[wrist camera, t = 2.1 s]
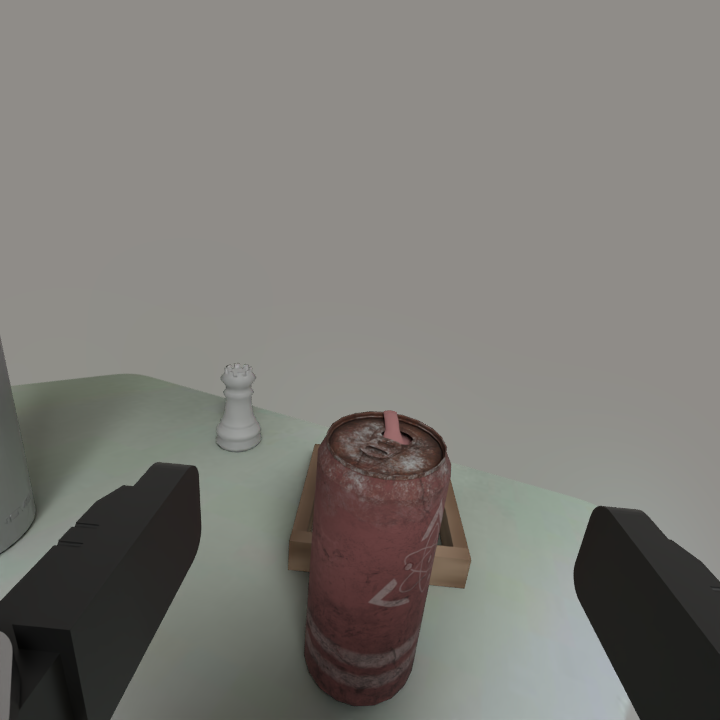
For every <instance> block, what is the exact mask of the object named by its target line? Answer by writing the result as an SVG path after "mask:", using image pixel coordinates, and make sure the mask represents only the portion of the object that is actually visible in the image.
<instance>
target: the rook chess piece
mask: <svg viewBox="0 0 720 720" xmlns="http://www.w3.org/2000/svg"><path fill="white" fill-rule="evenodd" d="M243 366H244V367H243V368H240V364H239V363H237V364H236V363H235V364H234V368H232V365H227V366H226V368H225V373H224V374H223V375H222V376H221V380H222V381H223V383H224V384H225V385H226V389H225V390H224V392H223V393H224V395H225V396H226V403H225V410H224V415H223V417H222V418H221V422H220V423H219V424H218V426H217V429H216V433H217V436H216V442H217V443H218V444H219V445H220V446H221V447H222V448H223V449H224V450H227V451H230V452H243V451H247V450H250V449H252V448H254V447H255V446H256V445H257V444H258V443H259V442H260V440H261V438H262V437H261V433H260V431H261V428H260V425H259V422H258V421H257V419H256V417H255V416H254V414H253V408H252V401H251V400H252V399H251V398H252V397H251V396H252V394H253V392H254V391H253V390H252V388H251V384H252V383H253V382H254V381H255V379H256V376H255V374H254V373H253V372H252V367H249V365H247V364H244V365H243Z"/></svg>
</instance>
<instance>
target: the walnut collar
mask: <svg viewBox="0 0 720 720" xmlns="http://www.w3.org/2000/svg"><path fill="white" fill-rule="evenodd" d="M319 446H320V444H315V446H314V450H313V453H312V457H311V461H310V465H309V469H308V472H307V476H306V480H305V484H304V487H303V491H302V495H301V499H300V503H299V506H298V510H297V514H296V518H295V521H294V525H293V529H292V533H291V537H290V540H289V560H288V570H295V571H304V572H310V558H311V544H312V532H311V529H312V524H313V515H314V500H315V486H316V471H317V457H318V448H319ZM440 537H441V542H442V546H440V545H437V547H436V552H435V557H434V562H433V567H432V572H431V577H430V582H429V585H436V586H445V587H455V588H465V584H466V580H467V576H468V571H469V567H470V563H471V557H470V553H469V549H468V546H467V542H466V538H465V534H464V530H463V526H462V522H461V518H460V515H459V511H458V507H457V503H456V499H455V495H454V491H453V487H452V483H451V480H450V482H449V487H448V492H447V497H446V502H445V507H444V512H443V517H442V522H441V527H440Z"/></svg>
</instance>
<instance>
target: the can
mask: <svg viewBox="0 0 720 720" xmlns="http://www.w3.org/2000/svg"><path fill="white" fill-rule="evenodd" d="M446 450H447V447H446V445H445V443H444V441H443V439H442V437H441V436H440V435H439V434H438V433H437V432H436V431H435V430H434V429H433V428H431V427H429V426H427V425H426V424H424V423H422V422H420V421H418V420H415V419H413V418H410V417H407V416H404V415H399V414H397V412H395V411H384V412H363V413H355V414H351V415H348V416H345V417H342V418H341V419H339V420H338V421H336V422H335V423H333V424H332V425H331V427H330V428H329V430H328V432H327V435H326V437H325V438H324V440H323V441H322V443H321V445H320V446H319V448H318V457H317V471H316V486H315V500H314V515H313V529H312V544H311V558H310V573H309V587H308V602H307V616H306V631H305V650H304V656H305V659H306V663H307V666H308V670H309V673H310V674H311V676H312V677H313V679H314V680H315V682H316V683H317V684H318V686H319V687H320V689H322V690H323V691H324V692H326V693H327V694H328V695H330V696H331V697H332V698H334V699H335V700H337V701H340V702H343V703H346V704H349V705H352V706H372V705H376V704H378V703H381V702H383V701H386V700H388V699H390V698H392V697H393V696H394V695H395V694H396V693H397V692H398V691H399V690H400V689H401V688H402V687H403V686H404V685H405V683H406V681H407V679H408V677H409V675H410V673H411V671H412V667H413V662H414V657H415V652H416V647H417V642H418V637H419V632H420V627H421V622H422V617H423V612H424V607H425V602H426V597H427V592H428V587H429V582H430V577H431V572H432V567H433V562H434V557H435V552H436V547H437V542H438V537H439V532H440V527H441V522H442V517H443V512H444V507H445V502H446V497H447V492H448V487H449V482H450V477H451V463H450V460H449V457H448V455H447V452H446Z"/></svg>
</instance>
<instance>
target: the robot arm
mask: <svg viewBox="0 0 720 720" xmlns="http://www.w3.org/2000/svg"><path fill="white" fill-rule="evenodd" d="M35 513H36V508H35V503H34V498H33V493H32V488H31V483H30V478H29V473H28V468H27V461H26V457H25V452H24V447H23V442H22V438H21V433H20V428H19V423H18V419H17V414H16V409H15V404H14V400H13V395H12V390H11V385H10V381H9V376H8V371H7V367H6V362H5V358H4V352H3V348H2V343H1V338H0V553H1V552H3V551H4V550H6V549H7V548H8V547H10V546H11V545H12V544H13V543H14V542H16V541H17V540H18V539H19V538H20V537H21V536H22V535H23V534H24V533H25V532H26V531H27V529H28V528H29V527H30V525H31V523H32V521H33V520H34V517H35ZM200 537H201V510H200V490H199V473H198V470H197V468H196V466H193V465H182V464H172V463H162V462H157V463H154V464H153V465H152V466H151V467H150V468H149V469H148V470H147V472H146V473H145V474H144V475H143V476H142V477H141V478H140V479H139V481H138V482H137V483H136V484H135V485H134V486H125V485H123V486H121V487H120V488H118V489H116V490H115V491H113V492H111V493H110V494H108V495H106V496H105V497H103V498H101V499H100V500H98V501H96V502H95V503H94V504H93V505H92V506H91V507H90V508H89V510H88V511H87V512H86V513H85V514H84V515H83V516H82V517H81V518H80V519H79V520H78V521H77V522H76V525H75V527H71V528H70V529H69V530H68V531H67V532H66V533H65V534H64V535H63V537H62V538H61V539H60V540H59V542H58V545H57V546H56V545H54V546H53V547H52V548H51V549H50V550H49V551H48V552H47V553H46V554H45V555H44V556H43V557H42V558H41V559H40V560H39V561H38V563H37V564H36V565H35V566H34V567H33V568H32V569H31V570H30V571H29V572H28V573H27V574H26V575H25V576H24V577H23V578H22V579H21V580H20V581H19V582H18V583H17V584H16V585H15V586H14V587H13V588H12V590H11V591H10V592H9V593H8V594H7V595H6V596H5V597H4V598H3V599H2V600H1V601H0V720H110V719H111V717H112V715H113V713H114V711H115V709H116V707H117V705H118V704H119V702H120V700H121V698H122V696H123V694H124V692H125V690H126V688H127V686H128V684H129V683H130V681H131V679H132V677H133V675H134V673H135V671H136V669H137V667H138V665H139V664H140V662H141V660H142V658H143V656H144V654H145V652H146V650H147V648H148V646H149V644H150V643H151V641H152V639H153V637H154V635H155V633H156V631H157V629H158V627H159V625H160V623H161V622H162V620H163V618H164V616H165V614H166V612H167V610H168V608H169V606H170V604H171V603H172V601H173V599H174V597H175V595H176V593H177V591H178V589H179V587H180V585H181V583H182V582H183V580H184V578H185V576H186V574H187V572H188V570H189V568H190V566H191V564H192V562H193V560H194V558H195V556H196V553H197V550H198V546H199V542H200ZM574 585H575V590H576V594H577V597H578V599H579V601H580V603H581V605H582V607H583V609H584V611H585V613H586V615H587V617H588V619H589V621H590V623H591V625H592V627H593V629H594V631H595V633H596V635H597V637H598V638H599V640H600V642H601V644H602V646H603V648H604V650H605V652H606V654H607V656H608V658H609V660H610V662H611V664H612V666H613V668H614V670H615V672H616V674H617V676H618V677H619V679H620V681H621V683H622V685H623V687H624V689H625V691H626V693H627V695H628V697H629V699H630V701H631V703H632V705H633V707H634V708H635V711H636V713H637V714H638V716H639V718H640V720H720V582H719V580H718V579H717V578H716V577H715V576H714V575H713V574H712V573H711V572H710V571H709V569H708V568H707V567H706V566H705V565H704V564H703V563H702V562H701V561H700V560H698V559H697V558H696V557H694V556H693V555H691V554H690V553H689V552H687V551H686V550H685V549H683V548H682V547H681V546H679V545H678V544H676V543H675V542H674V541H672V540H669V539H668V538H667V537H666V536H665V535H664V534H663V533H662V531H661V530H660V529H659V528H658V527H657V526H656V525H655V523H654V522H653V521H652V520H651V519H650V518H649V517H648V516H647V515H646V514H645V513H644V512H643V511H641V510H636V509H626V508H616V507H606V506H598V507H596V508H595V509H594V510H593V512H592V514H591V516H590V519H589V522H588V525H587V529H586V532H585V535H584V538H583V541H582V544H581V547H580V550H579V553H578V556H577V559H576V562H575V566H574Z"/></svg>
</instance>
